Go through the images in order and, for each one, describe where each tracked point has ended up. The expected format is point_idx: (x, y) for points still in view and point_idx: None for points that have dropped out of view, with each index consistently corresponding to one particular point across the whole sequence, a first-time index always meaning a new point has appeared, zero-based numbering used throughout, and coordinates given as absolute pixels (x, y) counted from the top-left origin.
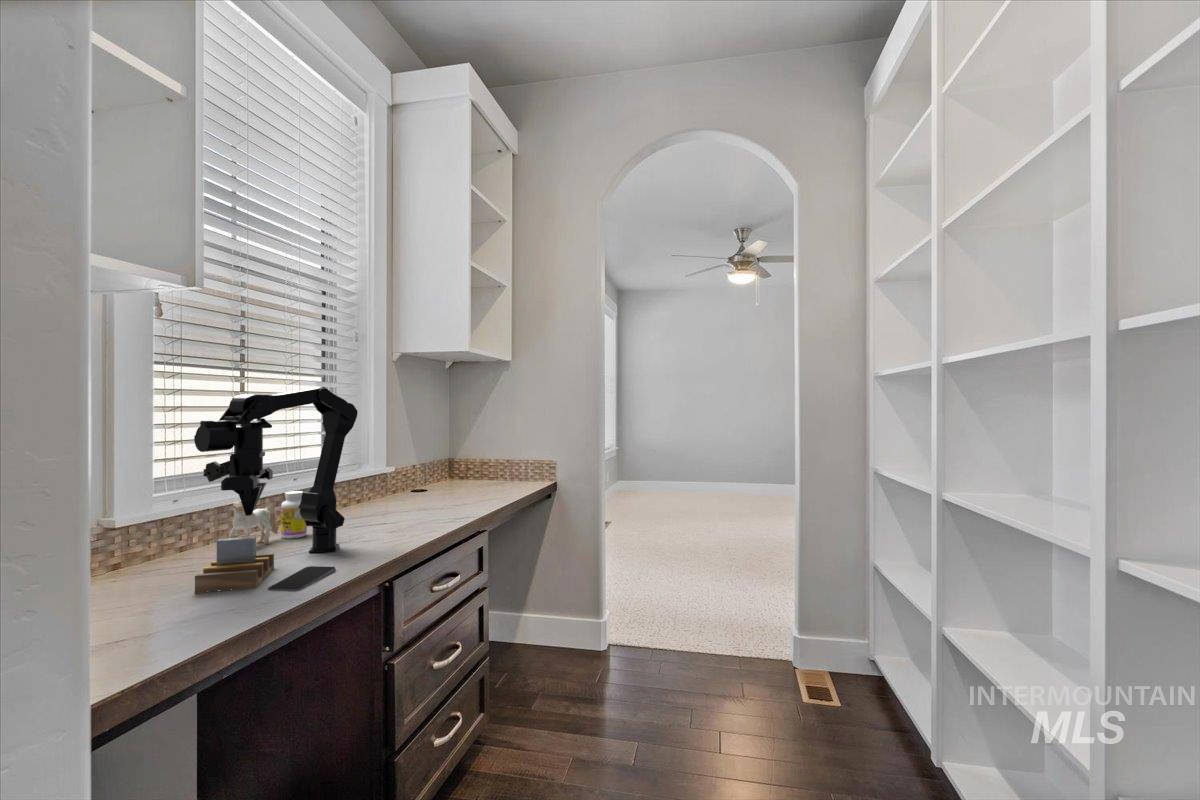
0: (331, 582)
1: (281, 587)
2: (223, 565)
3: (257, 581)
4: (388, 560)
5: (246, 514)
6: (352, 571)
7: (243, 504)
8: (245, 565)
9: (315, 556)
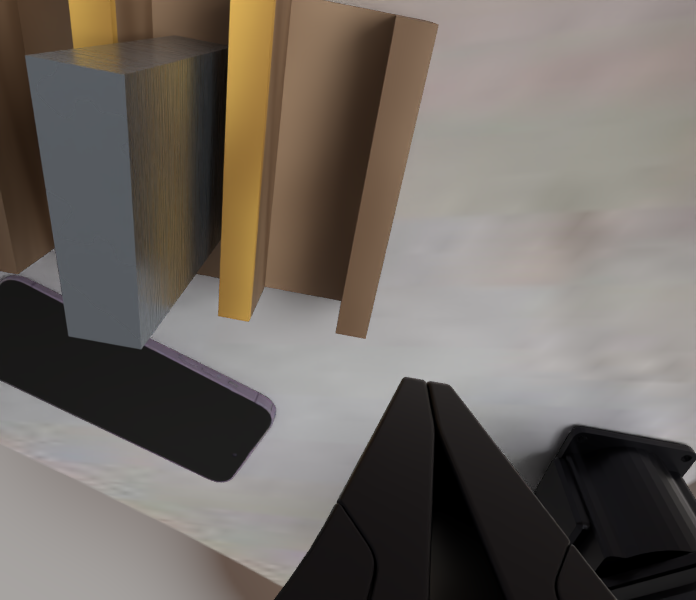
0: (74, 451)
1: (14, 323)
2: None
3: (53, 247)
4: None
5: (400, 389)
6: (194, 507)
7: (345, 487)
8: None
9: (498, 439)
